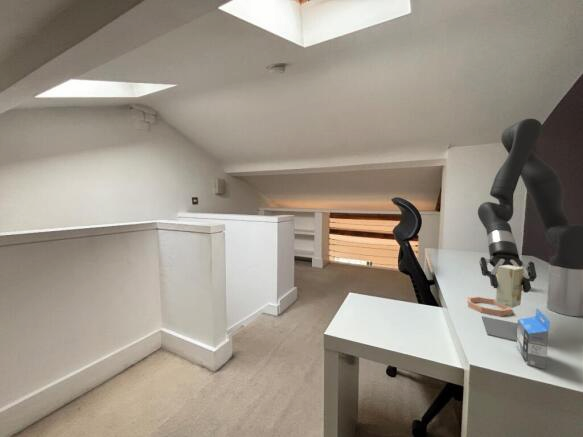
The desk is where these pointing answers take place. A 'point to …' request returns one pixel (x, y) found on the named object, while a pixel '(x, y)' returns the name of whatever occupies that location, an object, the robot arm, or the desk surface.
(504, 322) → the mat
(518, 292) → the skincare box
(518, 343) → the label tape cartridge
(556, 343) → the desk surface
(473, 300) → the ring
